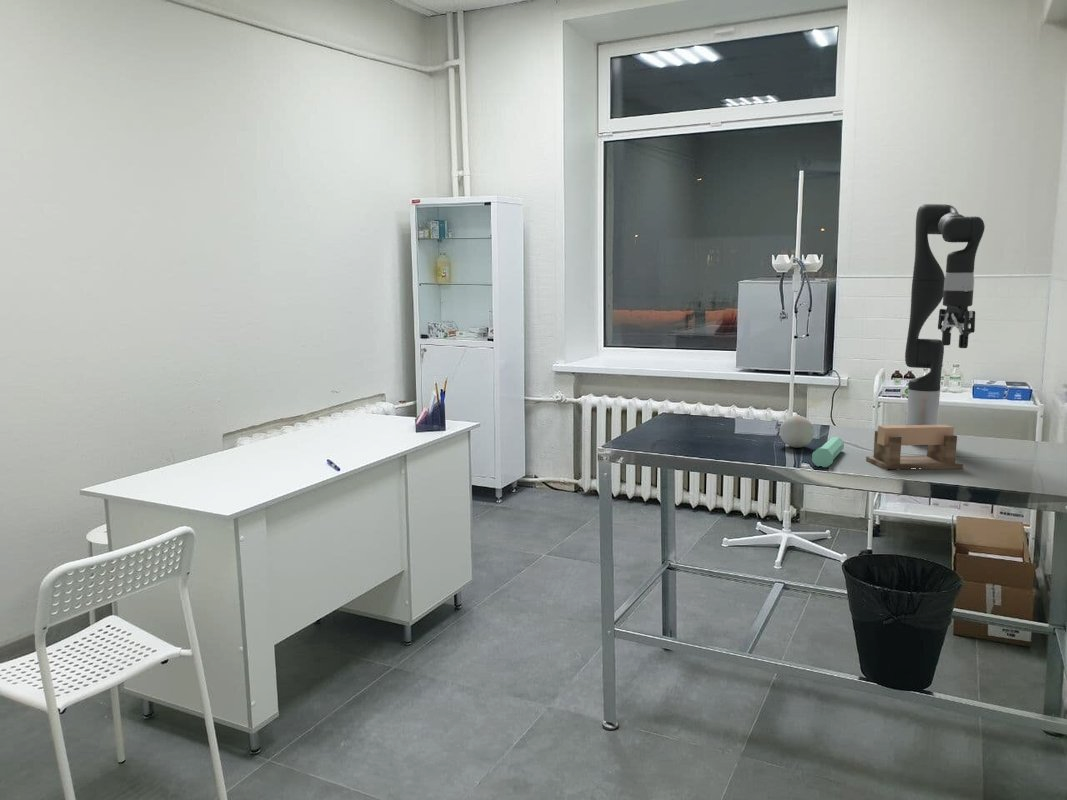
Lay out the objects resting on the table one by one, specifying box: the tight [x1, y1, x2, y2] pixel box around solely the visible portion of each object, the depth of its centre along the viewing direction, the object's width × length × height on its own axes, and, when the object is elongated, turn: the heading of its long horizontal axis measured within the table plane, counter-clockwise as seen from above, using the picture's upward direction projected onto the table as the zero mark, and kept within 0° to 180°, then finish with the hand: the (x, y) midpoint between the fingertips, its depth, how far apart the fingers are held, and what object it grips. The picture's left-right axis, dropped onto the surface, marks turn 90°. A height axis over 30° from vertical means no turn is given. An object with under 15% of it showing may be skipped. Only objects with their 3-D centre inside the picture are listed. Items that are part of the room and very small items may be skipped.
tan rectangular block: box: [877, 424, 955, 446], centre depth 237 cm, size 4×20×5 cm, turn 94°
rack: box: [865, 430, 964, 471], centre depth 237 cm, size 12×22×9 cm, turn 94°
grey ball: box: [779, 415, 815, 449], centre depth 261 cm, size 10×10×10 cm
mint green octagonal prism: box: [811, 436, 845, 468], centre depth 246 cm, size 6×6×25 cm
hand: (954, 346), depth 238 cm, fingers open, 8 cm apart
